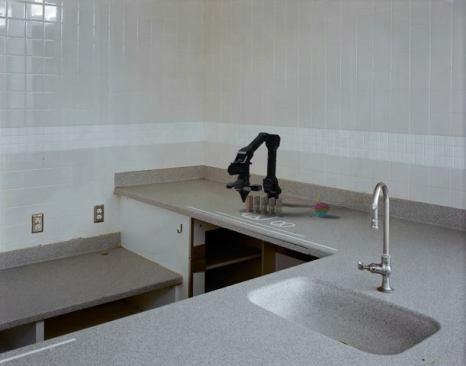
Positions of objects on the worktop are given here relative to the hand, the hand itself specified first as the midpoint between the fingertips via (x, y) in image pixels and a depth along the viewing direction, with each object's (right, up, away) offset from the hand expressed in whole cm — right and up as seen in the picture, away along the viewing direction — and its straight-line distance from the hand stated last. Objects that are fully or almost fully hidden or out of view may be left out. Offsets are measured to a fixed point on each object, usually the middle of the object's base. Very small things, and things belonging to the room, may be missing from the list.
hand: (243, 202), depth 295 cm
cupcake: (+40, -7, -10) cm, 41 cm away
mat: (+11, -5, -5) cm, 13 cm away
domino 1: (+3, -4, -1) cm, 5 cm away
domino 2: (+7, -5, -3) cm, 9 cm away
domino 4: (+14, -5, -6) cm, 17 cm away
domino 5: (+18, -6, -8) cm, 21 cm away
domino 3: (+11, -5, -5) cm, 13 cm away
